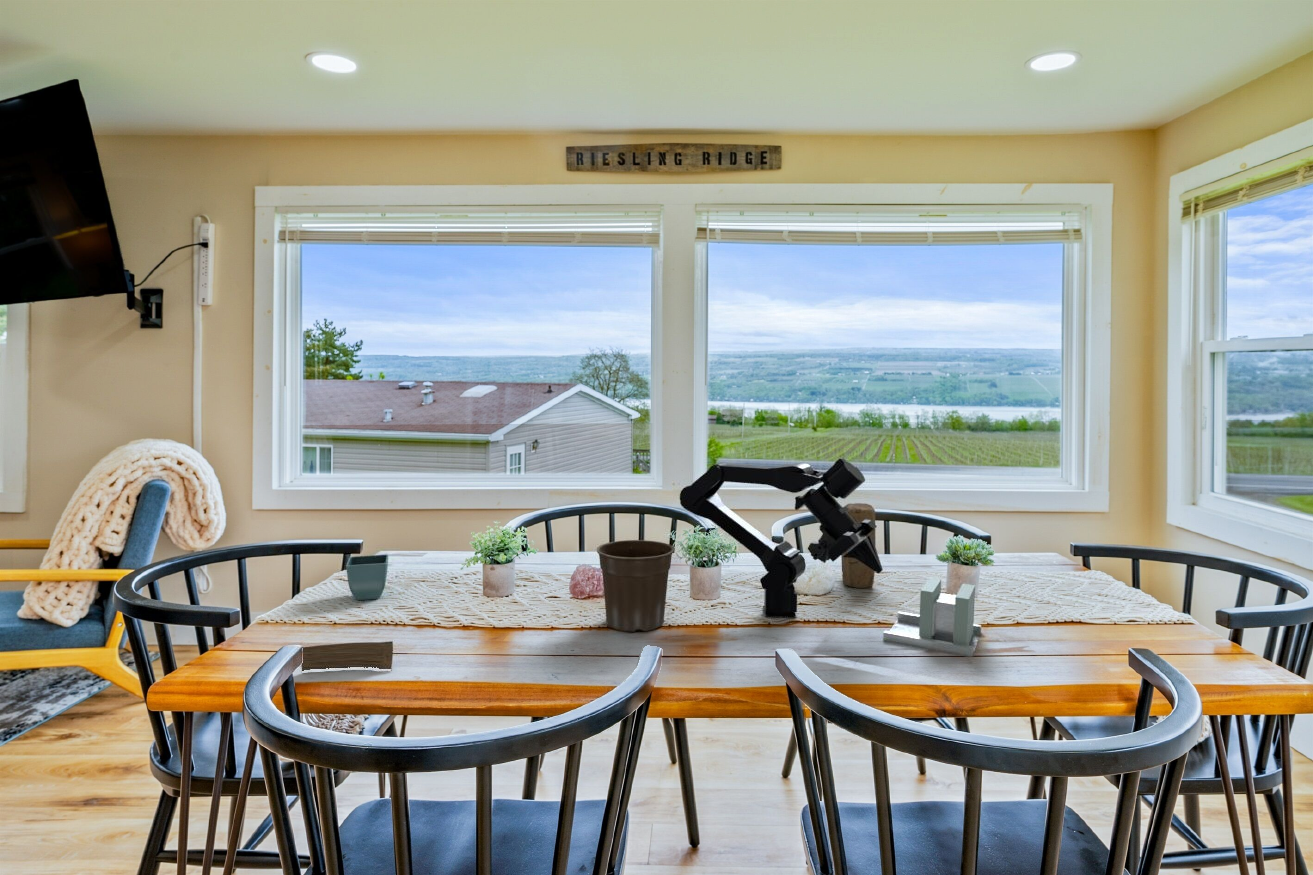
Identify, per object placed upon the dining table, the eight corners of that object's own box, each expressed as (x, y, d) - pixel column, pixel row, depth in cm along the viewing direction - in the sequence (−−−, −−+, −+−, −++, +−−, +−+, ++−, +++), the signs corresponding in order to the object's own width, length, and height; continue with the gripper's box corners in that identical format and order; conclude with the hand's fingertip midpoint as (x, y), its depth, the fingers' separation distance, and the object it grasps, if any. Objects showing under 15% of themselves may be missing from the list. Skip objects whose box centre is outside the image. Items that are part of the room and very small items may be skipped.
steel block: (934, 641, 138) (935, 601, 137) (939, 631, 143) (940, 593, 142) (953, 645, 136) (955, 604, 135) (958, 635, 141) (959, 595, 140)
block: (875, 590, 174) (878, 509, 172) (844, 589, 175) (846, 508, 173) (868, 577, 184) (870, 501, 183) (838, 576, 185) (840, 500, 184)
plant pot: (620, 605, 162) (620, 535, 160) (685, 616, 155) (686, 543, 153) (582, 628, 147) (581, 552, 146) (652, 641, 140) (652, 561, 139)
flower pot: (389, 589, 173) (388, 553, 172) (388, 600, 165) (387, 562, 164) (350, 593, 170) (349, 556, 170) (347, 604, 162) (345, 565, 161)
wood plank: (299, 677, 124) (297, 649, 123) (303, 672, 126) (301, 644, 125) (391, 672, 126) (390, 644, 125) (394, 667, 128) (393, 640, 128)
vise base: (882, 645, 138) (882, 632, 138) (898, 622, 151) (899, 610, 151) (971, 662, 130) (972, 649, 130) (981, 636, 143) (981, 624, 143)
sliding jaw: (918, 641, 137) (920, 590, 136) (928, 625, 146) (929, 577, 145) (932, 643, 136) (934, 592, 135) (941, 627, 145) (942, 579, 144)
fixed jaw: (952, 648, 134) (954, 596, 133) (959, 632, 143) (961, 583, 142) (966, 651, 133) (968, 599, 132) (973, 634, 142) (975, 585, 141)
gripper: (815, 528, 161) (863, 583, 156) (786, 544, 145) (838, 607, 140) (851, 496, 156) (901, 553, 152) (826, 510, 140) (881, 574, 136)
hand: (880, 571), depth 145 cm, fingers closed
